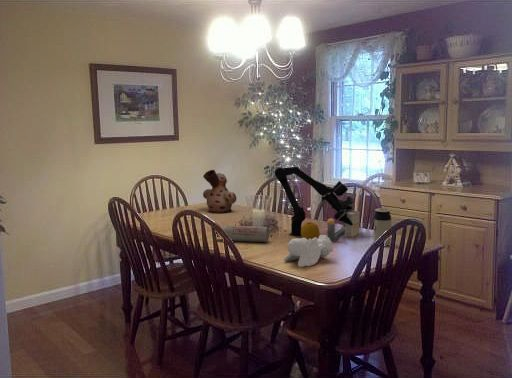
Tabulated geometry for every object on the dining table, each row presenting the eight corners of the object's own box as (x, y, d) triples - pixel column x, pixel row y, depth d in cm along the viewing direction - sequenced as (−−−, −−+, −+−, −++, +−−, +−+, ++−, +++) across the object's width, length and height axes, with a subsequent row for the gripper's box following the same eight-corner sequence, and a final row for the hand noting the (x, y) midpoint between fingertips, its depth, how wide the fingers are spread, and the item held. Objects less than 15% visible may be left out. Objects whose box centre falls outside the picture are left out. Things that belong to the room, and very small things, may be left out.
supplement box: (351, 233, 269) (351, 210, 267) (359, 234, 266) (360, 211, 264) (344, 236, 263) (344, 212, 261) (352, 237, 260) (352, 213, 258)
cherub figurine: (336, 238, 217) (299, 240, 207) (333, 265, 218) (296, 268, 208) (318, 232, 228) (282, 233, 218) (315, 258, 229) (280, 260, 219)
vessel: (243, 210, 341) (242, 168, 337) (225, 216, 323) (223, 171, 318) (210, 207, 356) (209, 166, 352) (191, 212, 338) (189, 170, 334)
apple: (297, 243, 251) (297, 220, 250) (314, 241, 255) (314, 219, 253) (305, 247, 242) (305, 224, 241) (323, 245, 246) (323, 222, 244)
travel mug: (390, 243, 247) (391, 208, 245) (390, 247, 240) (391, 211, 237) (374, 242, 249) (374, 207, 247) (373, 246, 242) (374, 210, 239)
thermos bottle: (266, 225, 252) (215, 223, 259) (264, 240, 249) (213, 237, 256) (269, 229, 259) (219, 227, 266) (268, 243, 256) (217, 241, 263)
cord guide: (333, 242, 251) (333, 219, 250) (326, 241, 253) (326, 218, 251) (350, 228, 282) (351, 207, 280) (344, 227, 283) (344, 207, 282)
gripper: (339, 195, 254) (360, 217, 251) (349, 190, 271) (369, 210, 267) (325, 209, 259) (345, 230, 255) (335, 203, 275) (355, 223, 272)
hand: (354, 223), depth 262 cm, fingers open, 9 cm apart
